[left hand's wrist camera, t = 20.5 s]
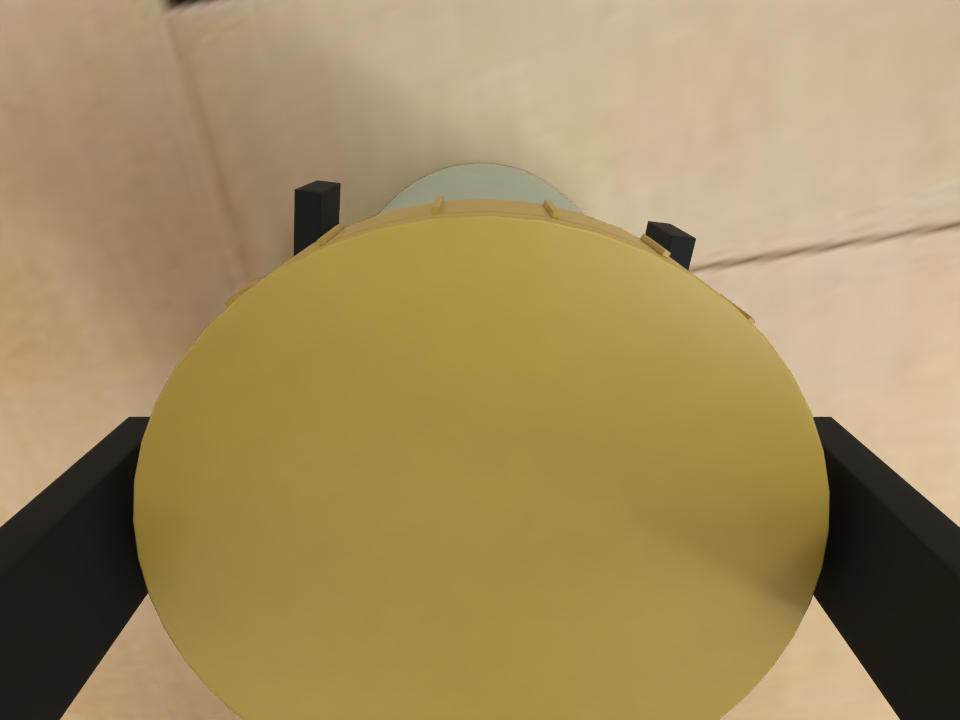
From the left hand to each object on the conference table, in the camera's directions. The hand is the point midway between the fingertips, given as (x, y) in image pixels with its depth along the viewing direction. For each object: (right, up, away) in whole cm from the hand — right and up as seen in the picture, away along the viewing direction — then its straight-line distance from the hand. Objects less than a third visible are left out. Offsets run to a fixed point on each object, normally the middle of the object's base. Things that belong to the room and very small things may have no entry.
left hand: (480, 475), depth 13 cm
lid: (0, -1, -2) cm, 2 cm away
